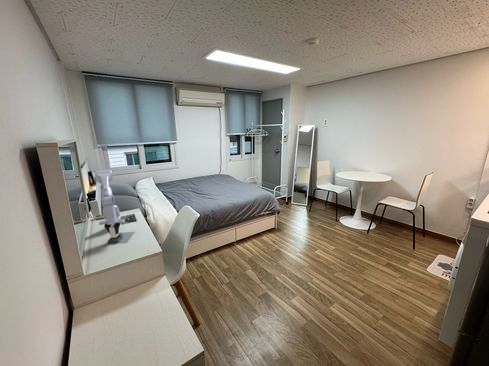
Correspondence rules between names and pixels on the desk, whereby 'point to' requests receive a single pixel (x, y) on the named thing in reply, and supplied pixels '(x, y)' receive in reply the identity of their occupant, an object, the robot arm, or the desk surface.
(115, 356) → the desk surface
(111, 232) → the plug
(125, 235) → the board
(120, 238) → the frame
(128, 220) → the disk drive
